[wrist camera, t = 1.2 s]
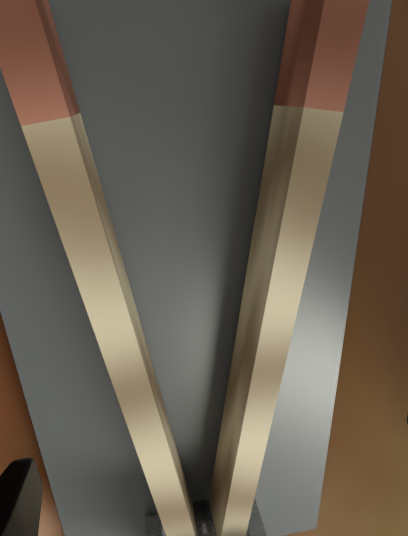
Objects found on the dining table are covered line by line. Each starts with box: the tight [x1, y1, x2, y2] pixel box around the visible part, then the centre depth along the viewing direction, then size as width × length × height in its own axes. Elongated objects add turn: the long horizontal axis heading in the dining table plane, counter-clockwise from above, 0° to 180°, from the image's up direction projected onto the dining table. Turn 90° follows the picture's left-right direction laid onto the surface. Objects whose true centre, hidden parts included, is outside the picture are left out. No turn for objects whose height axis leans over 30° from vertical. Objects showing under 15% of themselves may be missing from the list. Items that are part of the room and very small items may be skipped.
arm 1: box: [209, 0, 369, 536], centre depth 15 cm, size 22×1×2 cm, turn 174°
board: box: [0, 0, 392, 536], centre depth 17 cm, size 14×28×1 cm, turn 2°
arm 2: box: [0, 0, 198, 536], centre depth 14 cm, size 22×1×2 cm, turn 10°
